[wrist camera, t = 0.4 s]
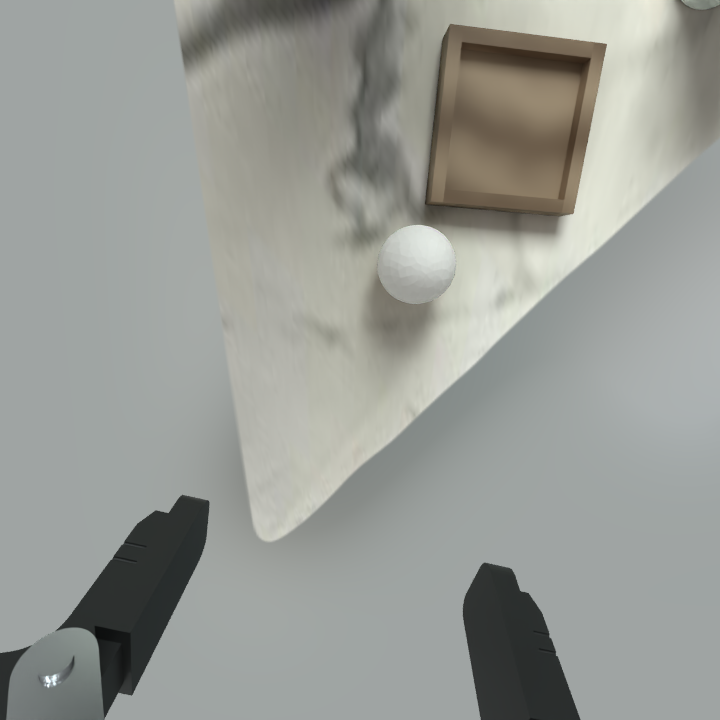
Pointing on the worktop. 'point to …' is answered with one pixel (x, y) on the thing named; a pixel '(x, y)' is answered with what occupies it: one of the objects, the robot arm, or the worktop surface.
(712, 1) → the beer glass
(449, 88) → the walnut tray
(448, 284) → the egg
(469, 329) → the worktop surface
